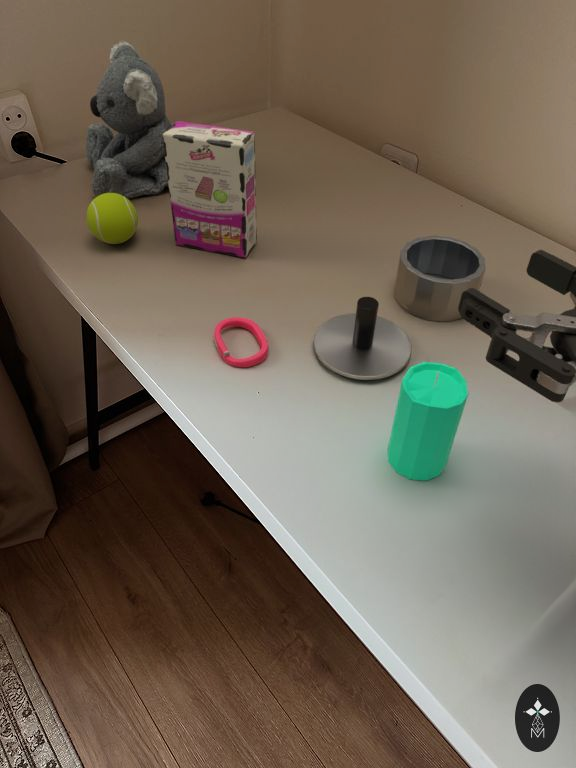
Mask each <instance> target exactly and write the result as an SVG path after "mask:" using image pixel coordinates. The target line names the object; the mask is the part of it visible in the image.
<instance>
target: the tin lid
mask: <svg viewBox="0 0 576 768" xmlns="http://www.w3.org/2000/svg"><path fill="white" fill-rule="evenodd" d="M379 305H380V304H379V301H378V300H377V299H376V298H374V297H371V296H362V297H360V298H358V300H357V303H356V309H355V310H356V311H355V312H353V313H351V312H350V313H345V314H341V315H340V314H339V315H337V316H334V317H331V318H330V319H328V320H326V321H325V322H323V323H322V324H321V325H320V326H319V328H318V329H317V330H316V332H315V334H314V338H313V349H314V352H315V355H316V357H317V358H318V360H319V361H320V362H321V363H322V364H323V365H324V366H325V367H326V368H327V369H329V370H331V371H332V372H333V373H336V374H338V375H340V376H343V377H346V378H349V379H355V380H361V381H362V380H363V381H373V380H381V379H385V378H388V377H391V376H393V375H395V374H397V373H399V372H400V371H401V370H402V369H403V368H405V367H406V366H407V364H408V362H409V360H410V358H411V354H412V344H411V340H410V338H409V337H408V334H407V333H406V332H405V331H404V330H403V328H401V326H399V325H398V324H396V323H394V322H393V321H391V320H389V319H387V318H384V317H382V316H379V315H378V311H379Z"/></svg>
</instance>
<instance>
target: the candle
mask: <svg viewBox="0 0 576 768" xmlns="http://www.w3.org/2000/svg"><path fill="white" fill-rule="evenodd" d="M467 382H468V381H467V380H466V378H465V377H464V376H463V374H462V373H461V372H460V371H459V370H458V368H457V367H454V366H450V365H447V364H445V363H441V362H434V361H433V362H432V361H423V362H419V363H417V364H415V365H411V366H410V367H409V368H408V370H407V371H406V373H405V374H404V375H403V377H402V379H401V383H400V389H399V394H398V397H397V404H396V408H395V413H394V416H393V417H394V418H393V422H392V426H391V433H390V436H389V442H388V447H387V461H388V463H389V464H390V466H391V467H392V468H393V470H395V473H397V474H399V475H401V476H403V477H405V478H406V479H409V480H410V481H411V480H413V481H425V482H427V481H430V480H431V479H434V478H436V477H440V475H441V474H442V473H443V470H444V469H445V468H446V466H447V464H448V460H449V457H450V453H451V450H452V448H453V444H454V441H455V437H456V434H457V432H458V428H459V425H460V423H461V419H462V416H463V412H464V408H465V406H466V404H467V403H466V402H467V400H468V396H469V390H468V383H467Z"/></svg>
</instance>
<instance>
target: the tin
mask: <svg viewBox="0 0 576 768" xmlns="http://www.w3.org/2000/svg"><path fill="white" fill-rule="evenodd" d="M485 259H486V258H485V257H484V255H483V254H482V253H481V252H480V251H479V249H477V248H476V247H475V246H474V245H471V244H469V243H468V242H466V241H464V240H461V239H457V238H454V237H450V236H443V235H441V236H440V235H427V236H420V237H417V238H414V239H412V240H410V241H407V242H406V244H405V245H403V247H402V248H401V249H400V253H399V259H398V264H397V270H396V275H395V282H394V289H393V291H394V292H393V295H394V298H395V301H396V302H397V304H398V305H399V306H400V307H401V309H403V310H404V311H405V312H407V313H409V314H410V315H413V316H414V317H417V318H418V319H419V318H420V319H423V320H427V321H431V322H452V321H457V320H460V319H463V318H462V317H461V316H460V313H459V311H458V307H459V303H460V299H461V295H462V293H463V292H464V291H466V290H468V289H469V288H474V289H476V290H478V291H479V292H480V289H481V286H482V283H483V280H484V279H483V278H484V275H485V272H486V269H487V266H486V260H485Z"/></svg>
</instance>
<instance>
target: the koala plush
mask: <svg viewBox="0 0 576 768" xmlns="http://www.w3.org/2000/svg"><path fill="white" fill-rule="evenodd" d="M109 48H110V52H109V62H110V64H109V66H108V67H107V69H106V70H105V72H104V74H103V76H102V77H101V79H100V81H99V83H98V86H97V91H96V94H95V95H94V96H92V97H91V98H90V102H89V107H90V111H91V113H92V114H93V116H95V117H97V118H100V119H101V120H102V121H103V122H104V123H105V124H104V123H101V122H99V123H98V124H97V123H91V124H90V125H89V126H87V128H88V129H87V132H86V137H85V140H86V142H85V155H86V159H87V160H86V161H87V162H88V163H89V165H90V166H93V169H94V170H93V174H92V180H91V190H92V194H93V195H94V199H95V198H96V197H97V196H99V195H101V194H105V193H117V194H120V195H122V196H124V197H126V198H127V199H128V200H130V199H131V200H132V199H133V198H137V197H141V196H150V195H154V196H156V195H157V194H158V195H159V194H160V193H162V192H163V191H164V189H165V187H166V188H167V187H168V188H169V184H168V176H167V168H166V160H165V152H164V143H163V133H165V132H166V131H167V130H168V129H169V128H170V127H171V126H172V125H173V124H174V123H173V122H171V121H170V119H169V117H168V116H167V115H166V103H165V102H166V101H165V99H166V98H165V92H164V88H163V84H162V80H161V78H160V76H159V74H158V72H157V70H156V69H155V68H154V67H153V66H152V65H151V64H150V63H149V62H147V61H146V60H144V59H142V57H141V56H140V54H139V53H138V51H137V50H136V49H135V48H134V46H133V45H131V44H130V43H129V42H127V41H125V40H123V39H122V40H119V41H118V43H115V44H114V45H113V47H109ZM111 129H112V130H113V131H114V132H117V133H116V134H115V135H114V133H113V131H112V130H111Z"/></svg>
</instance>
